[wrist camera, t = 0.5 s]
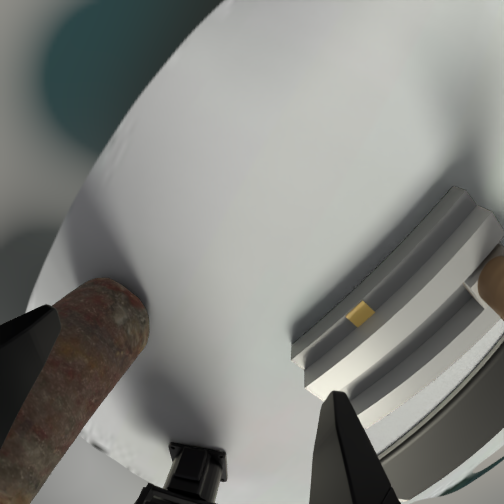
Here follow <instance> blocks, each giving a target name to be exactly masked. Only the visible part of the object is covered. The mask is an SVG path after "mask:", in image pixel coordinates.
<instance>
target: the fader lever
mask: <svg viewBox="0 0 504 504" xmlns="http://www.w3.org/2000/svg"><path fill="white" fill-rule="evenodd" d="M462 284H463V285H464V287H465V288H466V289H467V291H468V292H469V293H470V295H471V296H472V297H473V298H474V299H475V300H476V301H477V302H478V303H479V304H480V305H481V306H482V307H483V308H484V309H486V308H487V307H488V306H490V307H491V308H492V309H493V310H494V311H495V312H496V313H497V314H498V315H499V316H500V317H501V318H502V319H503V321H504V246H502V245H500V244H499V243H498V244H497V245H496V246H495V248H494V249H493V250H492V251H491V252H490V253H489V255H488V256H487V257H486V258H485V259H484V260H483V261H482V263H481V264H480V265H479V266H478V267H477V268H476V269H475V270H474V272H473V273H472V274H471V275H470V276H469V277H468V278H467V279H466V280H465V281H464V282H463V283H462Z"/></svg>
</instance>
